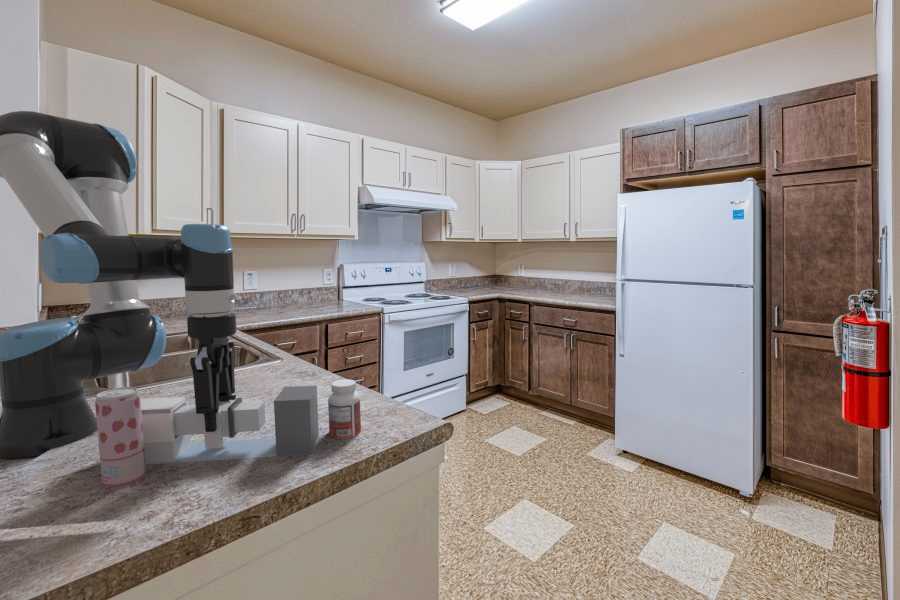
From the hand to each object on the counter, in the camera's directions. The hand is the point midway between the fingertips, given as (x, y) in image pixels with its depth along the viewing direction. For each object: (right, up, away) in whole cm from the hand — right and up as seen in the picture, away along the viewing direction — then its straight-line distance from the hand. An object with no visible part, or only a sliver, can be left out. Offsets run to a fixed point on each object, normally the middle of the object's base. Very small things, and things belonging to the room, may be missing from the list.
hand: (219, 441), depth 79 cm
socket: (+14, -1, +2) cm, 14 cm away
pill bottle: (+21, -2, +8) cm, 22 cm away
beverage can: (-10, -4, -9) cm, 14 cm away
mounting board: (+1, -3, 0) cm, 3 cm away
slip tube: (-4, +2, -1) cm, 5 cm away
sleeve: (-11, -2, -1) cm, 11 cm away
